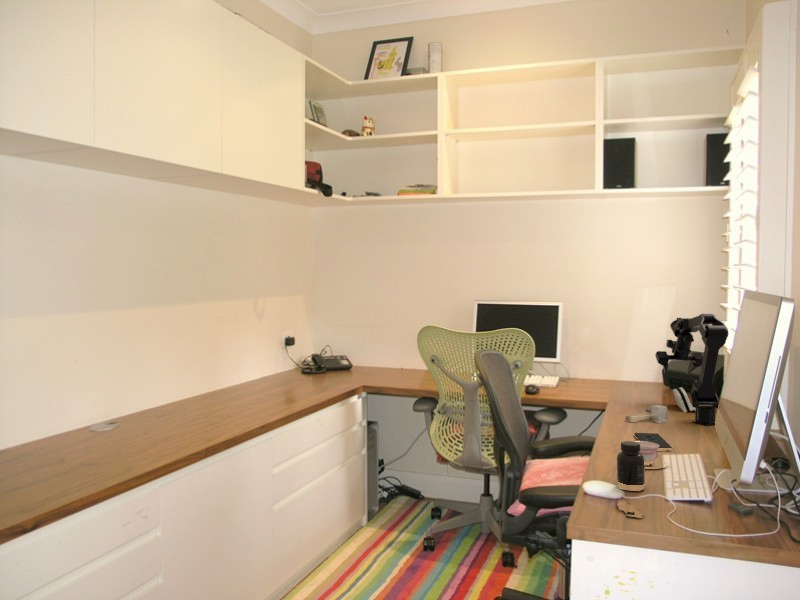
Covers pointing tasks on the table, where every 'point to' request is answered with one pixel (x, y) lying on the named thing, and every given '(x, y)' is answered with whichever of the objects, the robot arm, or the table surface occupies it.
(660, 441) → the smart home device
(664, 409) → the marking gauge
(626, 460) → the supplement bottle
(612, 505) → the table surface
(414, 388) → the table surface
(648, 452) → the teacup
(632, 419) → the pine board
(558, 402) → the table surface
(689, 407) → the white rounded piece
